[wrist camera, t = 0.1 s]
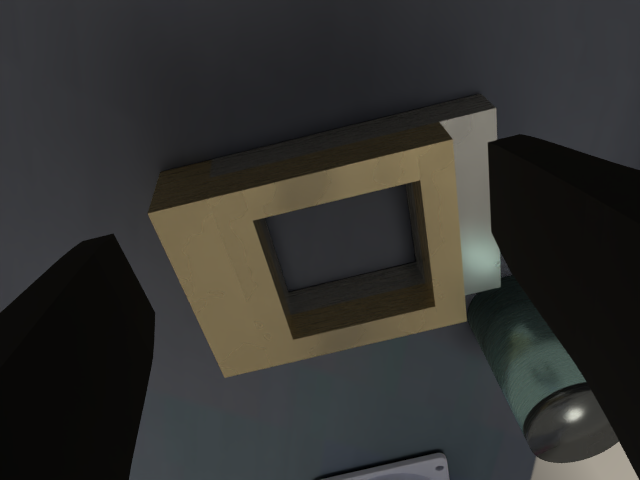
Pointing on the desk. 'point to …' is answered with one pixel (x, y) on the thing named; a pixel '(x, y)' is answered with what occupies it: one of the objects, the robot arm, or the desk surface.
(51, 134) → the desk surface
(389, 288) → the lower end link
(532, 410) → the teal cylinder
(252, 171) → the upper end link
